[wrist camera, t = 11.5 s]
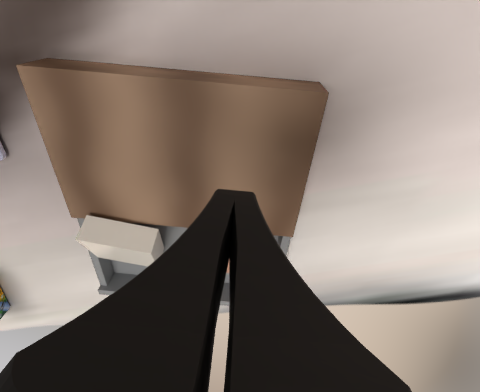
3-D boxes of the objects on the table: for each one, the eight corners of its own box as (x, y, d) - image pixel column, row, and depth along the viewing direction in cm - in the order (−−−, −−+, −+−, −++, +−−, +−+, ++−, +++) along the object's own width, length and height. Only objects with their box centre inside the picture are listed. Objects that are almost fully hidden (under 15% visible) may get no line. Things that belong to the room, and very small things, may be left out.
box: (111, 272, 26) (99, 294, 24) (89, 197, 21) (71, 217, 19) (273, 286, 26) (274, 309, 24) (289, 215, 21) (292, 237, 19)
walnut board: (89, 197, 21) (71, 217, 19) (47, 58, 16) (15, 65, 14) (289, 215, 21) (292, 237, 19) (319, 82, 16) (328, 92, 14)
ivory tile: (106, 236, 23) (98, 257, 22) (86, 214, 19) (75, 239, 18) (164, 247, 23) (158, 268, 23) (158, 229, 19) (150, 253, 18)
